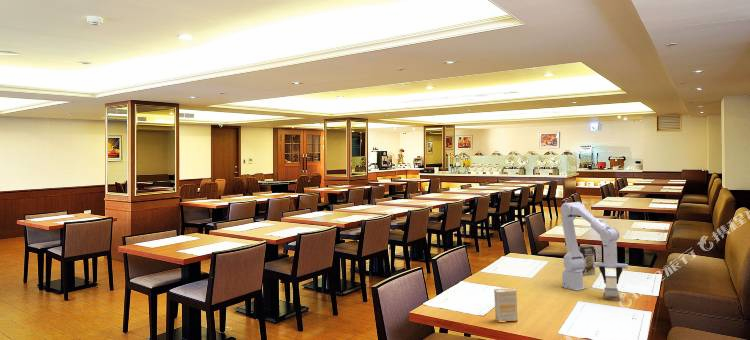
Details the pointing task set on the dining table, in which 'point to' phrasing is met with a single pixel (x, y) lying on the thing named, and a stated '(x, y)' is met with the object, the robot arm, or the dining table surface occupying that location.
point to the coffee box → (588, 258)
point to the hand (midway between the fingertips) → (611, 283)
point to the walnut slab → (611, 297)
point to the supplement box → (505, 304)
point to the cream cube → (611, 282)
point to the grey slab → (611, 291)
